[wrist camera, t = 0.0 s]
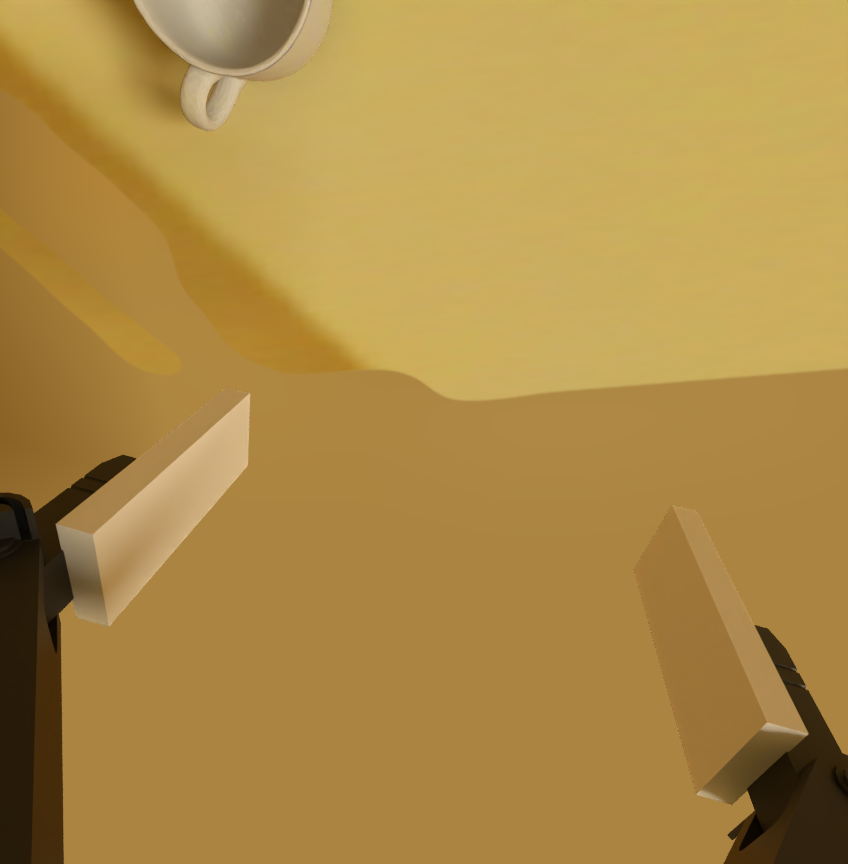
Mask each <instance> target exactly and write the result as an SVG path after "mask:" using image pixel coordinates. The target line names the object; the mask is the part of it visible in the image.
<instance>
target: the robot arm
mask: <svg viewBox="0 0 848 864" xmlns="http://www.w3.org/2000/svg"><path fill="white" fill-rule="evenodd" d="M249 413H250V393H248V392H244V391H240V390H237V389H233V388H229V387H225V388H224V389H223V390H222V391H221V392H219V393H218V394H217V395H216V396H214V397H213V398H212V399H211V400H209V401H208V402H207V403H206V404H204V405H203V406H202V407H201V408H199V409H198V410H197V411H196V412H194V413H193V414H192V415H191V416H189V417H188V418H187V419H186V420H184V421H183V422H182V423H181V424H180V425H178V426H177V427H176V428H174V429H173V430H172V431H171V432H169V433H168V434H167V435H166V436H165V437H163V438H162V439H161V440H160V441H158V442H157V443H156V444H155V445H153V446H152V447H151V448H150V449H148V450H147V451H146V452H145V453H143V454H142V455H141V456H140V457H138V458H133V457H129V456H125V455H121V456H119V457H116V458H113V459H111V460H108V461H106V462H103V463H101V464H100V465H98V466H97V467H96V468H94V469H93V470H92V471H90V472H89V473H87V474H86V475H85V477H84V478H81V479H79V480H78V481H77V482H75V483H74V484H73V485H72V486H71V488H67V489H66V490H65V491H63V492H62V493H61V494H59V495H58V496H57V497H55V498H54V499H53V500H51V501H50V502H49V503H47V504H46V505H45V506H43V507H42V508H41V509H39V510H38V511H37V512H35V513H34V512H33V509H32V506H31V503H30V500H28V499H27V498H25V497H23V496H22V495H18V494H12V493H0V864H64V854H63V853H64V852H63V780H62V779H63V778H62V776H63V774H62V697H61V696H62V694H61V622H60V618H59V613H60V612H61V611H62V610H63V609H64V608H65V607H66V606H67V605H68V603H70V602H71V600H73V605H74V609H75V614H76V617H77V618H80V619H84V620H88V621H91V622H94V623H98V624H101V625H105V626H110V625H111V623H112V622H113V621H114V620H115V619H116V618H117V617H118V615H119V614H120V613H121V612H122V611H123V610H124V608H125V607H126V606H127V605H128V604H129V603H130V602H131V600H132V599H133V598H134V597H135V596H136V595H137V593H138V592H139V591H140V590H141V589H142V588H143V587H144V585H145V584H146V583H147V582H148V581H149V579H150V578H151V577H152V576H153V575H154V574H155V573H156V571H157V570H158V569H159V568H160V567H161V566H162V564H163V563H164V562H165V561H166V560H167V559H168V557H169V556H170V555H171V554H172V553H173V552H174V550H175V549H176V548H177V547H178V546H179V545H180V544H181V542H182V541H183V540H184V539H185V538H186V537H187V536H188V534H189V533H190V532H191V531H192V530H193V529H194V527H195V526H196V525H197V524H198V523H199V522H200V520H201V519H202V518H203V517H204V516H205V515H206V513H207V512H208V511H209V510H210V509H211V508H212V507H213V505H214V504H215V503H216V502H217V501H218V500H219V498H220V497H221V496H222V495H223V494H224V493H225V491H226V490H227V489H228V488H229V487H230V486H231V484H232V483H233V482H234V481H235V480H236V478H238V476H239V475H240V474H241V473H242V472H243V471H244V469H245V468H246V467H247V466H248V444H249V440H248V439H249ZM634 573H635V577H636V580H637V584H638V588H639V591H640V595H641V598H642V602H643V606H644V609H645V613H646V616H647V620H648V624H649V627H650V630H651V634H652V638H653V641H654V645H655V648H656V652H657V656H658V659H659V663H660V667H661V670H662V674H663V677H664V681H665V685H666V688H667V692H668V695H669V699H670V703H671V706H672V710H673V713H674V717H675V721H676V724H677V728H678V731H679V735H680V739H681V742H682V746H683V749H684V753H685V756H686V760H687V764H688V767H689V771H690V775H691V778H692V782H693V785H694V789H695V792H696V795H700V796H703V797H707V798H710V799H714V800H717V801H721V802H724V803H728V804H731V805H732V804H733V803H734V802H736V801H737V800H738V799H739V798H740V797H741V796H742V795H743V794H744V793H745V792H746V791H747V790H748V793H749V795H750V798H751V801H752V804H753V806H754V809H755V811H754V812H753V813H752V814H750V815H749V816H748V817H747V818H746V819H745V820H744V821H743V822H741V823H740V824H739V825H738V826H737V827H736V828H734V829H733V830H732V831H731V832H730V833H729V834H728V836H729V837H730V838H731V839H732V840H733V839H735V838H736V837H737V838H736V840H735V842H734V844H733V846H732V848H731V850H730V852H729V854H728V856H727V858H726V860H725V862H724V864H848V755H845V754H843V753H842V752H841V750H840V748H839V746H838V745H837V743H836V741H835V739H834V737H833V735H832V733H831V732H830V730H829V728H828V726H827V724H826V722H825V720H824V719H823V717H822V715H821V713H820V711H819V709H818V707H817V706H816V704H815V702H814V700H813V698H812V697H811V694H810V693H809V691H808V690H806V689H805V687H806V685H805V683H804V681H803V680H802V678H801V676H800V674H799V673H797V672H796V670H797V669H796V667H795V665H794V663H793V661H792V659H791V658H790V656H789V654H788V652H787V650H786V648H785V647H784V646H783V645H782V644H781V643H780V642H779V641H778V640H777V639H776V637H775V636H774V635H773V634H772V633H771V632H770V631H769V629H767V628H763V627H760V626H756V625H754V624H753V622H752V620H751V618H750V616H749V614H748V612H747V610H746V608H745V606H744V604H743V602H742V600H741V598H740V596H739V594H738V592H737V590H736V588H735V586H734V584H733V582H732V580H731V578H730V576H729V574H728V572H727V570H726V568H725V566H724V564H723V562H722V560H721V558H720V556H719V554H718V552H717V550H716V548H715V546H714V544H713V542H712V540H711V538H710V536H709V534H708V532H707V530H706V528H705V526H704V524H703V522H702V520H701V518H700V516H699V514H698V512H697V511H695V510H691V509H688V508H684V507H680V506H676V505H671V507H670V508H669V510H668V511H667V513H666V515H665V517H664V518H663V520H662V522H661V524H660V525H659V527H658V529H657V530H656V532H655V534H654V536H653V537H652V539H651V541H650V542H649V544H648V546H647V547H646V549H645V551H644V553H643V554H642V556H641V558H640V559H639V561H638V563H637V565H636V566H635V568H634Z"/></svg>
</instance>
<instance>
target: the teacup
mask: <svg viewBox="0 0 848 864" xmlns="http://www.w3.org/2000/svg"><path fill="white" fill-rule="evenodd" d="M133 1H134V3H135V5H136V7H137V9H138V11H139V12H140V14H141V15H142V17H143V18H144V20H145V22H146V23H147V25H148V26H149V27H150V28H151V29H152V31H153V32H154V33H155V34H156V35H157V36H158V38H159V39H160V40H161V41H162V42H163V43H164V44H165V45H166V46H167V47H168V48H170V49H171V50H172V51H173V52H175V53H176V54H177V55H178V56H180V57H181V58H182V59H184V60H185V61H187V62H188V63H190V66H189V68H188V69H187V71H186V73H185V76H184V78H183V81H182V85H181V91H180V105H181V109H182V112H183V114H184V116H185V118H186V119H187V120H188V121H189V122H190V123H191V124H192V125H194V126H195V127H197V128H199V129H202V130H205V131H214V130H216V129H218V128H219V127H221V126H222V125H223V123H224V122H225V121H226V119H227V118H228V116H229V115H230V113H231V111H232V109H233V107H234V105H235V102H236V100H237V98H238V95H239V93H240V91H241V89H242V88H243V87H244V86H245V84H246V82H247V80H251V81H272V80H277V79H281V78H284V77H287V76H289V75H291V74H293V73H295V72H296V71H298V70H299V69H300V68H302V67H303V66H304V65H305V64H306V63H307V62H308V61H309V60H310V59H311V58H312V57H313V55H314V54H315V53H316V51H317V50H318V48H319V46H320V44H321V43H322V41H323V39H324V37H325V34H326V31H327V28H328V25H329V22H330V18H331V12H332V6H333V0H133ZM216 81H217V82H216ZM215 82H216V84H215V87H214V89H213V92H212V94H211V96H210V98H209V99H208V101H207V97H208V94H209V91H210V89H211V87H212V85H213V84H214V83H215Z"/></svg>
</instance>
